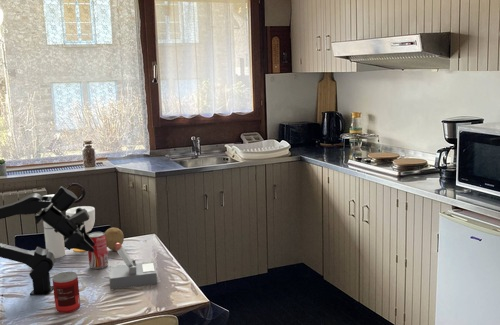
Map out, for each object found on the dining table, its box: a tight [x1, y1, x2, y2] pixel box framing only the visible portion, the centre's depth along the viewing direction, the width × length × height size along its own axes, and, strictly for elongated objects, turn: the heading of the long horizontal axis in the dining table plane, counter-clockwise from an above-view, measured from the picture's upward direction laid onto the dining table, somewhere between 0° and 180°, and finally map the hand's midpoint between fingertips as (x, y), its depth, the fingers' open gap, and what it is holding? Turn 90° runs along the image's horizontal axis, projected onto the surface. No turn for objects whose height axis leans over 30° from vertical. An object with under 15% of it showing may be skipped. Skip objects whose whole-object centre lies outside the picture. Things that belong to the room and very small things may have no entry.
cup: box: [65, 205, 96, 253], centre depth 238 cm, size 12×12×17 cm
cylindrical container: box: [41, 193, 66, 259], centre depth 230 cm, size 7×7×25 cm
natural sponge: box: [103, 227, 125, 252], centre depth 234 cm, size 9×9×10 cm
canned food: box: [51, 271, 81, 314], centre depth 180 cm, size 8×8×11 cm
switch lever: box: [114, 243, 135, 268], centre depth 200 cm, size 3×6×11 cm, turn 12°
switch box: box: [109, 258, 158, 290], centre depth 201 cm, size 16×12×6 cm
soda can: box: [87, 231, 109, 270], centre depth 216 cm, size 7×7×13 cm
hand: (94, 248), depth 197 cm, fingers open, 6 cm apart
